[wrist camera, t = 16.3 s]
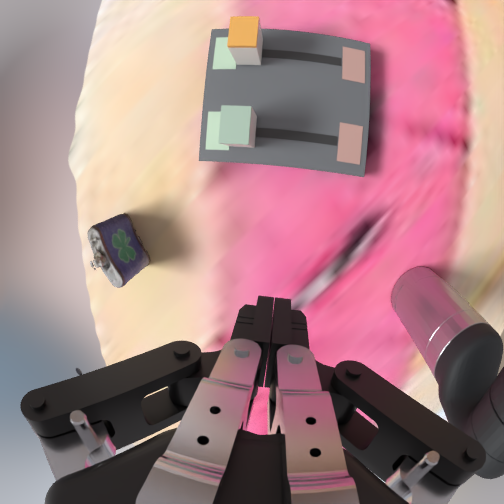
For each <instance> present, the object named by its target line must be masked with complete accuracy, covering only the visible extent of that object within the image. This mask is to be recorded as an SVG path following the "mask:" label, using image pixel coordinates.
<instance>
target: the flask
mask: <svg viewBox="0 0 504 504" xmlns="http://www.w3.org/2000/svg"><path fill="white" fill-rule="evenodd" d="M88 239H89V242H90V245H91V248H92V251H93V253H94V259H95V260H93V262H94V265H95V266H96V267H97V268H98V267H101V269H102V270H103V272H104V274H105V275H106V276H107V278H108V279H109V281H110V282H111V283H112V285H114V286H115V287H117V288H120V287H122V286H124V285H125V284H126V283H127V282H128V281H129V280H130V279H132V278H133V277H134V276H135V275H136V274H138V273H139V272H140V271H141V270H142V269H143V268H144V267H146V266H147V265H148V264H149V262H150V260H149V255H148V252H147V251H145V249H144V247H143V245H142V242H141V239H140V237H139V236H137V235H136V230H135V229H134V228H133V224H132V222H131V220H130V217H129V216H128V215H127V214H125V213H124V214H120V215H117V216H115V217H113V218H110V219H108V220H106V221H103V222H101V223H98V224H96V225H93V226H92V227H91V228H90V229H89V231H88ZM90 264H91V267H93V266H94V265H93V263H92V261H91V262H90ZM94 270H96V268H94Z"/></svg>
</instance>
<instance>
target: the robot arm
mask: <svg viewBox="0 0 504 504" xmlns="http://www.w3.org/2000/svg"><path fill="white" fill-rule="evenodd" d="M273 303H274V310H273ZM391 303H392V307H393V309H394V310H395V312H396V314H397V315H398V317H399V318H400V320H401V322H402V323H403V325H404V326H405V328H406V330H407V331H408V333H409V334H410V336H411V338H412V339H413V341H414V343H415V344H416V346H417V348H418V349H419V351H420V353H421V354H422V356H423V358H424V360H425V361H426V363H427V365H428V366H429V368H430V370H431V372H432V374H433V375H434V377H435V379H436V381H437V383H438V385H439V399H440V402H441V405H442V407H443V410H444V412H445V415H446V417H447V420H448V422H449V423H448V422H447V421H445V420H444V419H442V418H441V417H439V416H438V415H436V414H435V413H433V412H432V411H430V410H429V409H427V408H426V407H424V406H423V405H422V404H420V403H419V402H417V401H416V400H414V399H413V398H411V397H410V396H408V395H407V394H405V393H404V392H402V391H401V390H400V389H398V388H397V387H395V386H394V385H392V384H391V383H389V382H388V381H387V380H385V379H384V378H382V377H381V376H379V375H378V374H377V373H375V372H374V371H372V370H371V369H369V368H368V367H367V366H365V365H364V364H362V363H360V362H357V361H342V362H340V363H339V364H337V365H336V367H335V368H333V367H330V366H326V365H323V364H321V363H319V362H318V361H316V360H315V357H314V354H313V353H312V352H311V351H310V350H309V340H308V331H307V321H306V316H305V315H304V314H303V313H302V312H301V311H298V310H291V299H284V298H276V297H275V302H274V297H267V296H258V300H257V306H254V305H244V306H243V307H242V308H241V309H240V310H239V313H238V317H237V320H236V323H235V326H234V330H233V333H232V336H231V340H230V341H228V342H227V343H226V344H225V345H224V346H223V349H222V350H219V351H216V352H204V353H201V350H200V348H199V347H198V346H197V345H196V344H194V343H192V342H189V341H175V342H171V343H169V344H166V345H164V346H161V347H159V348H156V349H153V350H151V351H148V352H145V353H143V354H140V355H137V356H135V357H132V358H129V359H126V360H124V361H121V362H118V363H115V364H112V365H109V366H107V367H104V368H101V369H98V370H95V371H92V372H89V373H86V374H83V375H80V376H77V377H74V378H71V379H67V380H64V381H61V382H58V383H55V384H51V385H48V386H45V387H41V388H38V389H34V390H32V391H30V392H28V393H27V394H26V395H25V396H24V397H23V399H22V401H21V411H22V413H23V415H24V416H25V418H26V419H27V421H28V422H29V424H30V425H31V427H32V429H33V431H34V432H35V434H36V435H37V436H38V438H39V439H40V441H41V444H42V447H43V449H44V452H45V455H46V457H47V460H48V462H49V465H50V467H51V470H52V472H53V474H54V477H55V479H56V482H55V483H53V485H52V486H51V487H50V489H49V490H48V492H47V495H46V498H45V504H447V503H448V502H449V501H450V499H451V498H452V496H453V495H454V493H455V492H456V490H457V489H458V487H460V486H461V485H462V484H463V483H465V482H466V481H467V480H468V479H469V478H470V477H471V476H473V475H474V474H476V475H478V476H480V477H482V478H486V479H493V478H497V477H500V476H502V475H503V474H504V367H503V368H502V370H501V371H500V373H499V374H498V370H499V366H500V363H501V359H502V354H503V343H502V339H501V337H500V336H499V334H498V333H497V332H496V331H495V330H494V329H493V328H492V327H491V326H490V325H489V323H488V322H487V321H486V320H485V319H484V318H483V317H482V316H481V315H480V314H479V313H477V312H476V311H475V310H474V309H473V308H472V307H471V306H470V305H469V302H468V301H467V300H465V299H464V298H463V297H462V296H461V295H460V294H459V293H458V292H457V291H456V290H455V289H454V288H453V287H451V286H450V285H449V284H448V283H447V282H446V281H445V280H444V279H442V278H441V277H439V276H438V275H437V274H436V273H434V272H433V271H432V270H431V269H429V268H427V267H415V268H413V269H410V270H409V271H407V272H405V273H404V274H403V275H402V276H401V277H400V278H399V279H398V281H397V282H396V284H395V286H394V288H393V291H392V295H391ZM272 314H273V317H272ZM267 358H268V359H267ZM266 364H267V369H266ZM265 371H266V378H265V387H269V388H270V392H269V398H268V435H257V434H254V433H251V432H248V431H247V427H248V424H249V420H250V416H251V412H252V408H253V405H254V400H255V397H256V395H257V392H258V386H259V387H263V383H264V377H265ZM497 374H498V376H497ZM166 386H168V388H166V389H164V390H161V391H159V392H157V393H155V394H152V395H150V396H148V397H145V396H146V395H148V394H151V393H153V392H155V391H157V390H160V389H162V388H164V387H166ZM144 397H145V398H144ZM357 408H359V409H360V410H361V411H362V412H364V413H365V414H366V415H367V416H369V417H370V418H371V419H372V420H374V421H375V422H376V423H377V425H378V428H377V427H375V426H374V425H373V424H372V423H370V422H369V421H368V420H366V419H365V418H364V417H363V416H361V415H360V414H359V413H358V412H357V411H356V409H357ZM180 420H181V422H180V424H179V426H178V428H175V429H171V430H168V431H165V432H163V433H160V434H158V435H156V436H154V437H153V438H151V439H149V440H147V441H145V442H143V443H141V444H139V445H137V446H135V447H133V448H130V449H129V450H126V451H124V452H122V453H120V454H117V455H115V453H116V450H117V449H120V448H122V447H125V446H127V445H129V444H132V443H134V442H136V441H138V440H141V439H143V438H145V437H147V436H149V435H152V434H154V433H156V432H158V431H160V430H162V429H164V428H166V427H168V426H170V425H172V424H174V423H176V422H178V421H180ZM342 446H343V447H344V448H345V449H346V450H345V449H343V448H342ZM370 470H371V471H372V472H371V471H370ZM375 474H376V475H377V476H378V477H379V478H381V479H382V480H383V481H384V482H386V484H385V483H384V482H383V481H382V480H381V479H379V478H378V477H377V476H376V475H375Z"/></svg>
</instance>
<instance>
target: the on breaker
mask: <svg viewBox="0 0 504 504" xmlns="http://www.w3.org/2000/svg"><path fill="white" fill-rule="evenodd" d="M256 123H257V115H256V114H255V112H254V110H253V108H252V107H251V106H230V105H221V116H220V128H219V142H218V143H219V144H223V145H227V146H234V147H251V148H255V135H256Z"/></svg>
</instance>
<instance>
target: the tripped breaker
mask: <svg viewBox="0 0 504 504" xmlns="http://www.w3.org/2000/svg"><path fill="white" fill-rule="evenodd" d="M262 45H263V37H262V31H261V26H260V20H259V17H253V16H240V17H231V18H230V26H229V34H228V42H227V47H228V48H229V50H230V52H231V54H232V56H233V58H234V60H235V62H236V64H237V65H261V57H262Z"/></svg>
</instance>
